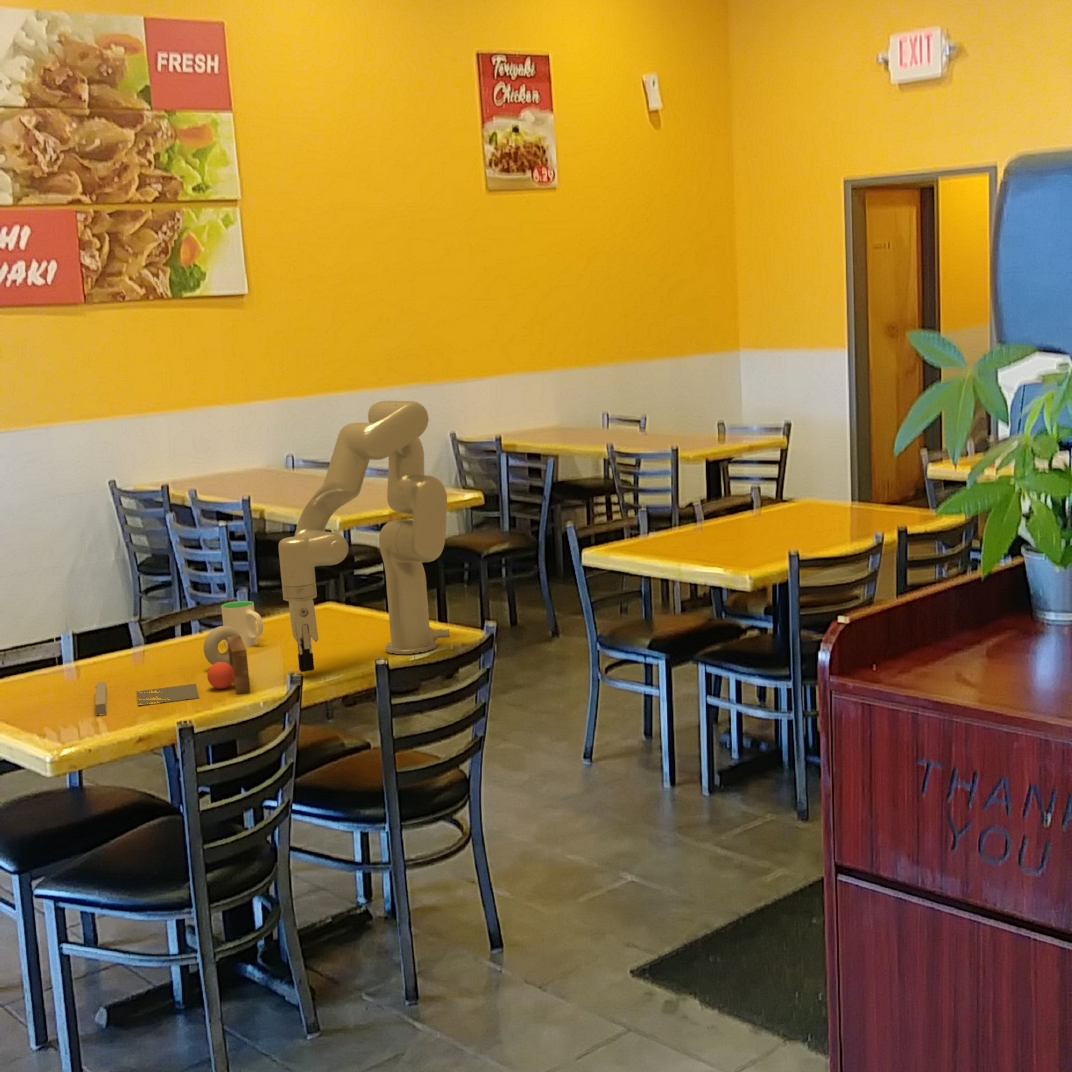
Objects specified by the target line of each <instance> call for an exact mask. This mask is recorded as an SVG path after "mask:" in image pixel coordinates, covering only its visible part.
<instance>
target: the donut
mask: <svg viewBox="0 0 1072 1072" xmlns="http://www.w3.org/2000/svg"><path fill="white" fill-rule="evenodd" d="M236 636H240V634H239V633H238V631H236V630H235V629H234V628H232V627H229V626H223V625H220V626H216V627H215V628H213V629H212V630H211V631H210V632H209V633H208V634H207V635H206V637H205V640H204V643H203V653H204V657H205V659H206V661H207V662H208V663H209V664H211V666H212V665H213V664H215V663H217V662H226V663H228V664H229V665H230V660H229V650H228V648H227V649H226V650H225V652H223V653H222V652H220V651H219V644H220V643H221V642H222V641H225V640H226V641H227V638H228V637H236ZM227 642H228V641H227Z"/></svg>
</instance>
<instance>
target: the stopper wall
mask: <svg viewBox="0 0 1072 1072" xmlns="http://www.w3.org/2000/svg"><path fill="white" fill-rule="evenodd" d="M107 700H108V690H107V682H106V681H100V682H96V686H95V700H94V701H95V702H94V703H95V704H94V706H95V714H96V715H95V716H97V715H100V714H106V715H107V711H106V709H108V708H106V707H108V706H107V704H108V703H107V702H108V701H107Z"/></svg>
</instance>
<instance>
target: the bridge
mask: <svg viewBox="0 0 1072 1072" xmlns="http://www.w3.org/2000/svg"><path fill="white" fill-rule="evenodd" d="M227 641H228V648H227V649H228V650H229V660H230V665H231V666H232V668H233V669H234V686H235V693H236V695H241V694H242V695H243V694H250V693H251V686H250V676H249V675H250V673H249V664H248V655H247V649H246V648H247V647H245V646H244V643H243V641H242V638H241V636H236V637H228V638H227Z"/></svg>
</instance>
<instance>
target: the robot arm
mask: <svg viewBox="0 0 1072 1072" xmlns="http://www.w3.org/2000/svg"><path fill="white" fill-rule="evenodd" d="M367 419H368V422H351V423H347V424H346V425H344V426H343V427H342V428H341V429H340V430H339V432H338V436H337V438H336V441H335V444H334V448H333V451H332V455H331V457H330V458H331V459H330V461H329V464H328V467H327V471H326V475H325V479H324V482H323V483H322V485H321V486H320V487H319V488H318V490H317V491H316V492H315V493H314V494H313V496H312V497H311V498H310V500H309V501H308V502H307V504H306V505H305V507H304V508H303V510H302V512H301V514H300V517H299V519H298V522H297V524H296V525H297V526H296V530H295V533H294V536H289V537H285V538H282V539H281V540H280V541H279V542H278V556H279V566H280V568H279V569H280V578H281V587H282V588H281V590H282V599H283V600H284V601H286V602H288V607H289V619H290V624H291V625H290V626H291V631H292V636H293V638H294V640H295V642H296V643H297V644H296V645H297V650H298V653H297V659H298V668H299V669H298V670H299V672H301V673H304V672H312V671H314V670H315V663H314V662H315V661H314V653H313V647H312V641H314V642H316V643H317V642H318V641H319V634H318V633H319V632H318V627H317V625H318V624H317V619H316V609H315V604H314V599H316V598H317V597H318V594H317V592H318V591H317V584H316V583H317V582H316V571H315V570H316V569H315V567H320V566H321V567H324V566H334V565H338V564H339V563H342V562H343V561H344V560H345V558H347V555H348V554H349V543H348V541H347V539H346V538H345V537H344V536H343V535H341V534H339V533H337V532H333V531H327V530H325V529H326V527H327V524H328V522H329V520H330V519H331V518H332V516H333V515H334V514H335V512H336V511H338V510H339V509H340V508H342V507H343V506H344V505H346V504H348V503H350V502H351V501H353V500H354V499H356V498H357V497H358V496H359V495H360V493H361V490H362V486H363V482H364V479H365V477H366V472H367V470H368V466H369V464H370V463H369V462H370V460H371V461H380V460H383V459H386V458H388V470H387V472H388V473H387V489H386V490H387V492H386V495H387V497H386V498H387V501H386V502H387V504H388V507H389V508H390V510H392V511H394V512H396V513H398V514H404V515H412V519H403V518H401V519H400V518H399V519H393V520H390V521H388V522H387V523H386V524H384V525H383V526H382V528H381V530H380V532H379V535H378V546H379V549H380V554H381V558H382V561H383V567H384V572H385V573H384V574H385V581H386V583H385V584H386V596H387V606H388V608H387V609H388V618H389V628H390V629H389V630H390V631H389V632H390V642H387V644H385V646H384V650H385V652H387V653H388V652H389V654H392V653H394V654H393V655H413V653H415V654H420V653H419V652H422V653H425V652H424V651H427V652H429V651H428V650H430V651H432V650H431V649H433V650H435V649H436V648H437V647H438V639H446V638H450V637H451V634H450V629H448V628H447V629H441V628H439V629H433V628H432V627H431V626H430V616H429V602H428V592H427V591H428V590H427V576H426V572H425V567H424V565H423V563H430V562H433V561H435V560H437V559H439V557H440V556H441V555H442V552H443V550H444V549H445V547H444V546H445V544H446V535H447V534H446V532H447V517H448V516H447V514H448V495H447V491H446V488H445V486H444V484H443V482H442V481H441V480H440V479H439V478H437V477H435V476H432V475H425V451H424V447H423V444H422V441H421V440H420V437H421V436H422V435H423V434H424V433H425V431H426V429H427V428H428V425H429V421H430V420H429V419H430V418H429V414H428V411H427V409H426V407H425V406H423V404H422V403H420V402H417V401H412V400H382V401H377V402H375V403H373V404H372V405H370V407H369V409H368V412H367ZM436 646H437V647H436ZM435 647H436V648H435ZM434 648H435V649H434Z"/></svg>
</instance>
